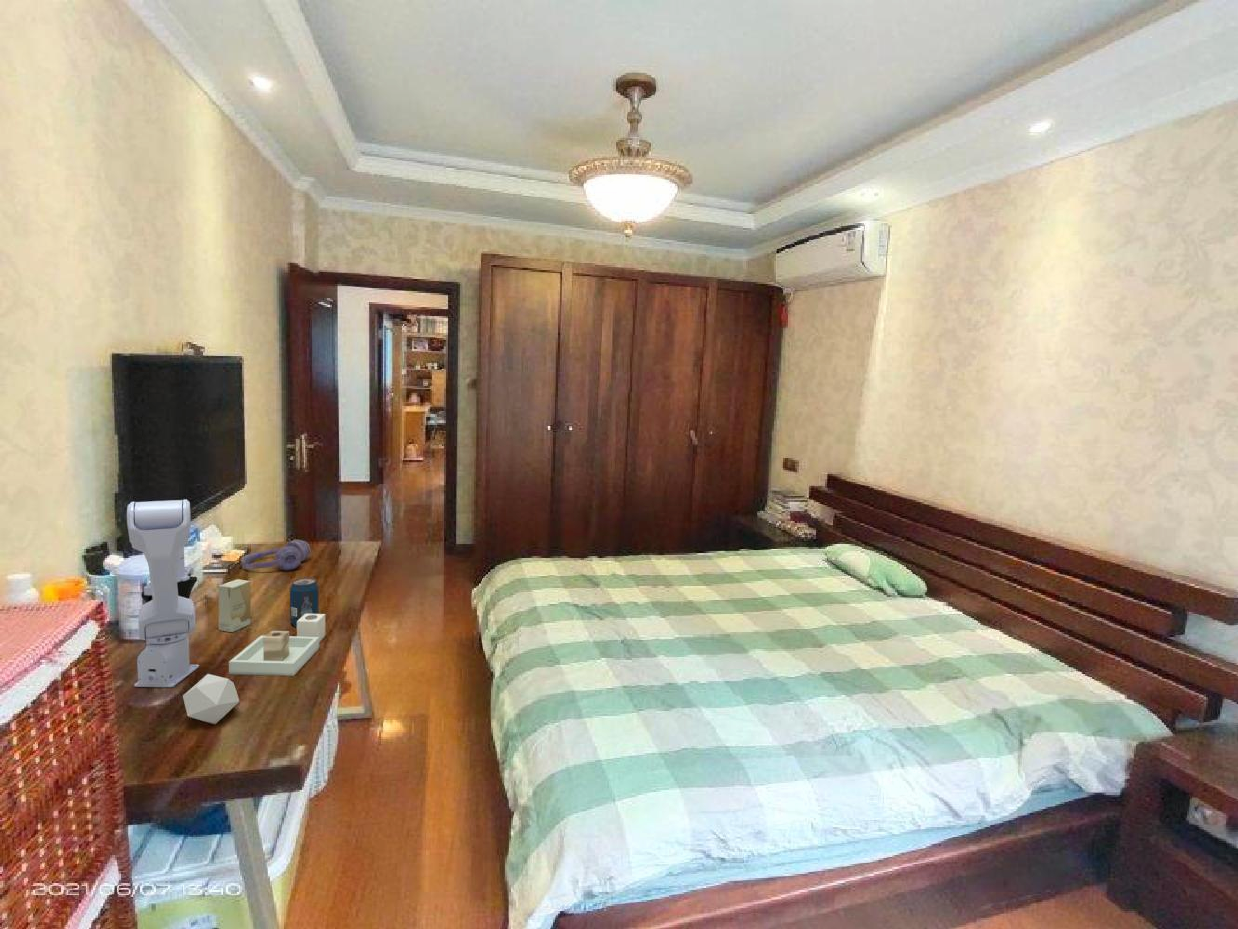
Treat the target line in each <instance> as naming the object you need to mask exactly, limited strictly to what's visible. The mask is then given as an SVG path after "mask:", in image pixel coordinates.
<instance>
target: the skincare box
mask: <svg viewBox="0 0 1238 929" xmlns="http://www.w3.org/2000/svg"><path fill="white" fill-rule="evenodd" d="M249 625H251V581H250V580H244V579H239V578H238V579H234V580H232V581H228V582H226V583H222V584H219V585H218V630H219V631H223V632H229V633H233V632H235V631H238V630H240V629H243V628H245V627H247V626H249Z"/></svg>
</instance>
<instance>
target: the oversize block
mask: <svg viewBox="0 0 1238 929" xmlns="http://www.w3.org/2000/svg"><path fill="white" fill-rule="evenodd" d="M296 636H299V637H319V643H320V642H321V641H322V640H323V639H324V638H325V637H326V613H319V614H304V615H303V616H302V617H301V618H300V619H299V620H298V621H297V627H296Z"/></svg>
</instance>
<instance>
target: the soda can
mask: <svg viewBox="0 0 1238 929" xmlns="http://www.w3.org/2000/svg"><path fill="white" fill-rule="evenodd" d="M319 592H320V591H319V584H318V583H317V580H316V578H314V577H302V578H301V577H300V578H296V579H294V580H293V581H292V582H291V586H290V588H289V621H290V623H291V624H292V626H293V627H296V628H297V621H298V620H299V619H300V618H301V617H302V616H303V615H304V614H320V612H319V611H320V610H319V609H320V607H319V605H320V604H319V599H320V598H319V596H320V595H319Z"/></svg>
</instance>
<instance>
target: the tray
mask: <svg viewBox="0 0 1238 929" xmlns="http://www.w3.org/2000/svg"><path fill="white" fill-rule="evenodd" d="M265 636H266V635H263V634H262V635H260V636H258V637H257V638H256V639H255V640H253V641H252V642H251V643H250V644H248V645H247V646H246V647H245V648H244V649H243V650H241V651H240V652H239V653H237V655H235V656H234V657H233V658H231V659H230V660H229V661H228V675H235V676H236V675H237V676H238V675H242V676H243V675H246V676H277V677H278V676H284V677H286V676H288V677H294V676H295V675H296V674H297V673H298V672H299V670H301V668H302V667H303V666H305V664H306V663H307V662H309V660H310V659H311V658H312V657H313V656H314V654H315V653H317V651H319V649H320V642H319V637H299V636H297V635H296V636H295V635H294V636H292V635H289V656H288V657H287V658H285V659H284V660H283V661H264V657H263V638H264V637H265Z"/></svg>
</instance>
